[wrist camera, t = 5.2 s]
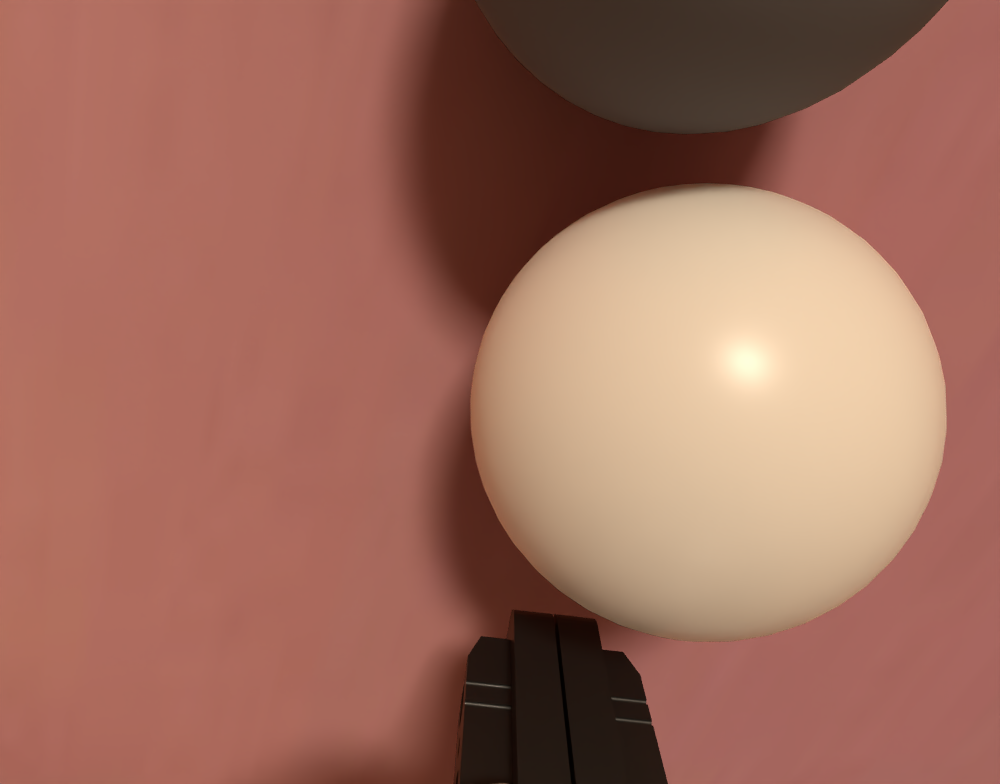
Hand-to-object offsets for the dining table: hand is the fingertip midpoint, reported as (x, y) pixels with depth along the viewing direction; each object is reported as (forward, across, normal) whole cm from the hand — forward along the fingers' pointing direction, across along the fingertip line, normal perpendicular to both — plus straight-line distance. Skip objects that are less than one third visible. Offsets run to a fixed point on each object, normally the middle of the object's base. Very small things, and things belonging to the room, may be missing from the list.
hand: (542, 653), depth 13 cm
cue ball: (-1, -1, -5) cm, 6 cm away
